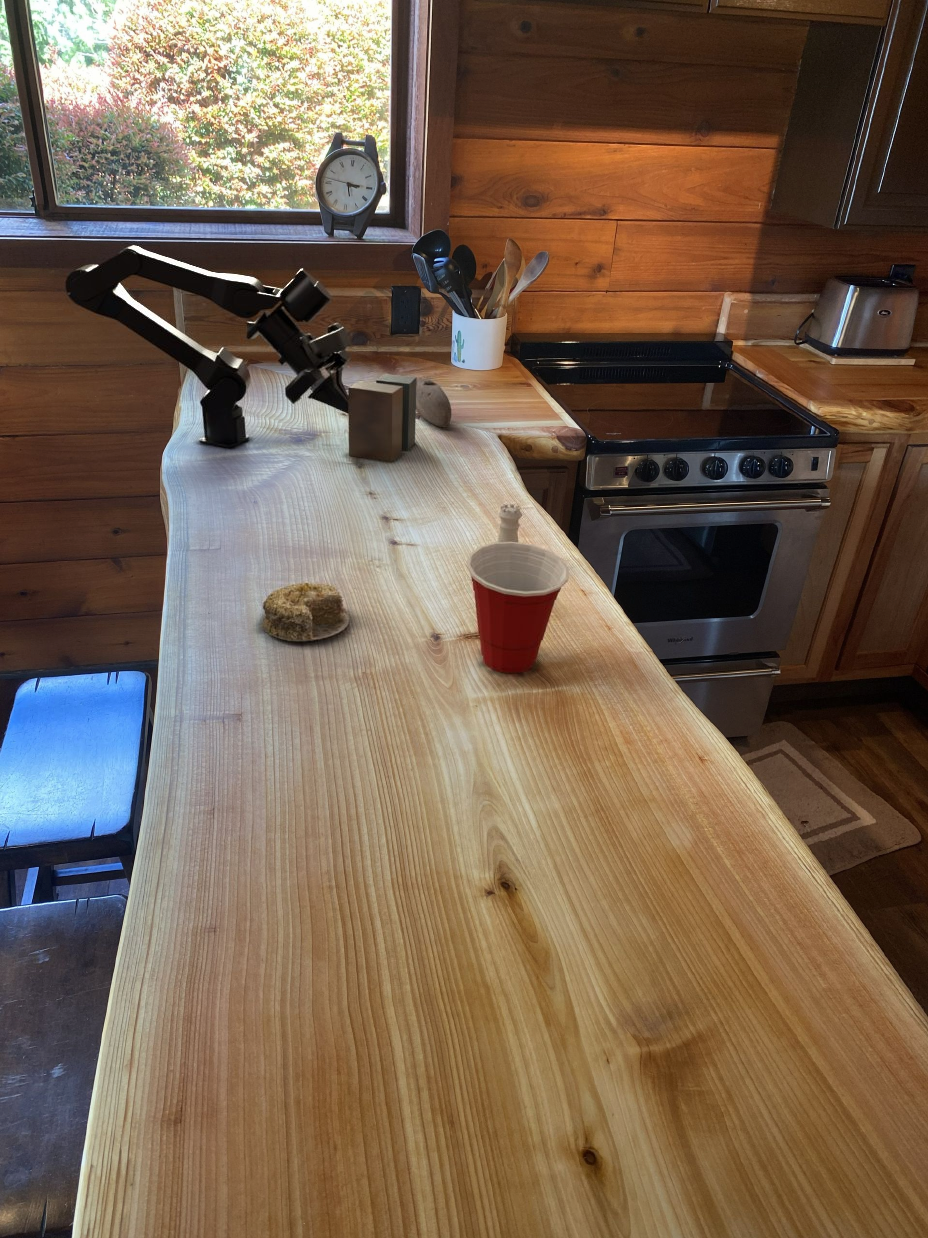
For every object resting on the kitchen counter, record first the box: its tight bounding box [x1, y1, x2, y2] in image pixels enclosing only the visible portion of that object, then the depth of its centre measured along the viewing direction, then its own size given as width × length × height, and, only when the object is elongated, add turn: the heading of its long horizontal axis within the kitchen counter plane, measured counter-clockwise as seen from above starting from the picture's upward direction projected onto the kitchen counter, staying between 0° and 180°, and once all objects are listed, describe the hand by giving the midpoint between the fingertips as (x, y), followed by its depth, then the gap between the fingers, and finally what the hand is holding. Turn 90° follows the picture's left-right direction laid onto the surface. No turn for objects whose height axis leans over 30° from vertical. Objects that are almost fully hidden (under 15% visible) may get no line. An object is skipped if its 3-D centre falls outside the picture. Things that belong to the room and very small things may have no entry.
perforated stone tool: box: [416, 378, 452, 428], centre depth 176 cm, size 15×5×7 cm, turn 20°
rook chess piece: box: [496, 503, 523, 543], centre depth 120 cm, size 4×4×8 cm
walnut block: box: [347, 380, 403, 463], centre depth 155 cm, size 8×5×12 cm, turn 72°
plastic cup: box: [466, 541, 570, 674], centre depth 96 cm, size 11×11×12 cm
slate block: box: [375, 373, 418, 452], centre depth 161 cm, size 6×5×12 cm
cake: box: [261, 582, 350, 642], centre depth 103 cm, size 10×10×5 cm
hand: (353, 412), depth 156 cm, fingers closed, pressing on walnut block
